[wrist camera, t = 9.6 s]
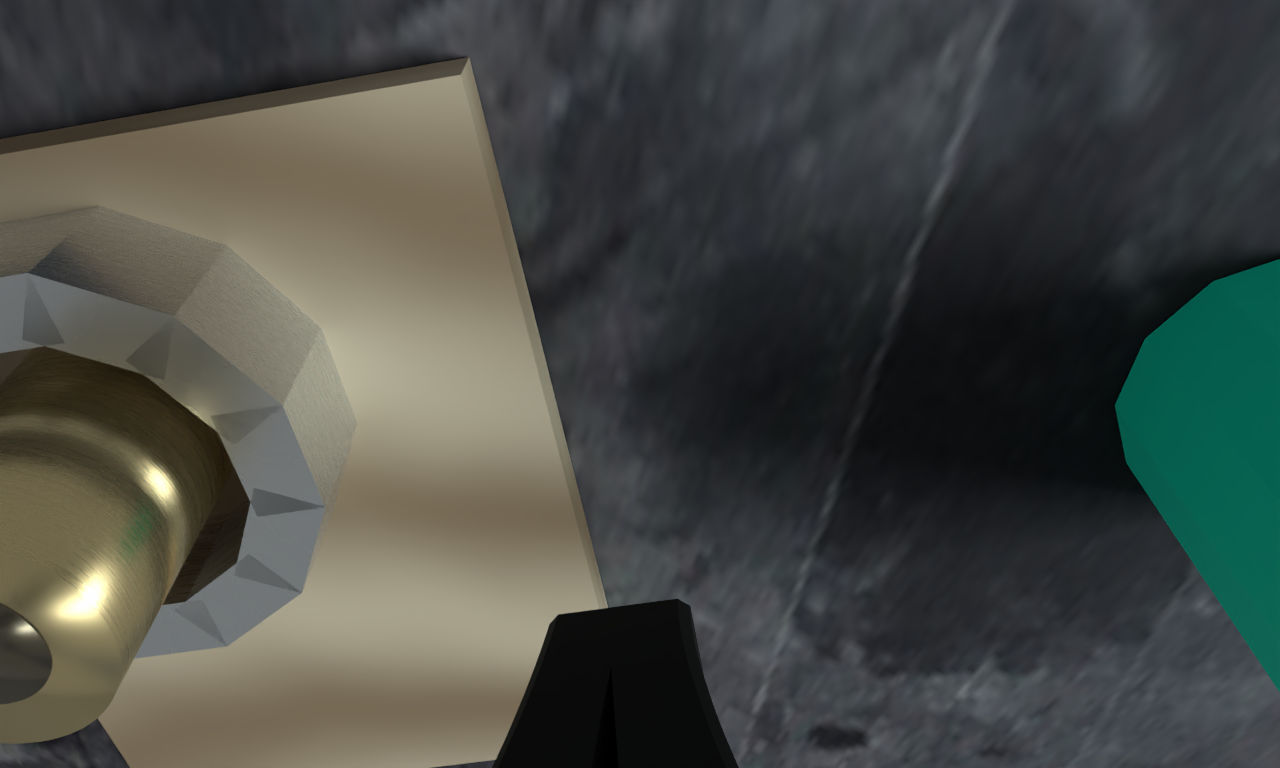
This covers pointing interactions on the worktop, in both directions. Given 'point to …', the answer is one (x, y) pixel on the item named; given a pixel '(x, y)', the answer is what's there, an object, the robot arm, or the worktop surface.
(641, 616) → the robot arm
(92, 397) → the brass sleeve
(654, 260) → the worktop surface
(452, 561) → the jig plate
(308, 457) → the bore collar
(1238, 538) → the candle
